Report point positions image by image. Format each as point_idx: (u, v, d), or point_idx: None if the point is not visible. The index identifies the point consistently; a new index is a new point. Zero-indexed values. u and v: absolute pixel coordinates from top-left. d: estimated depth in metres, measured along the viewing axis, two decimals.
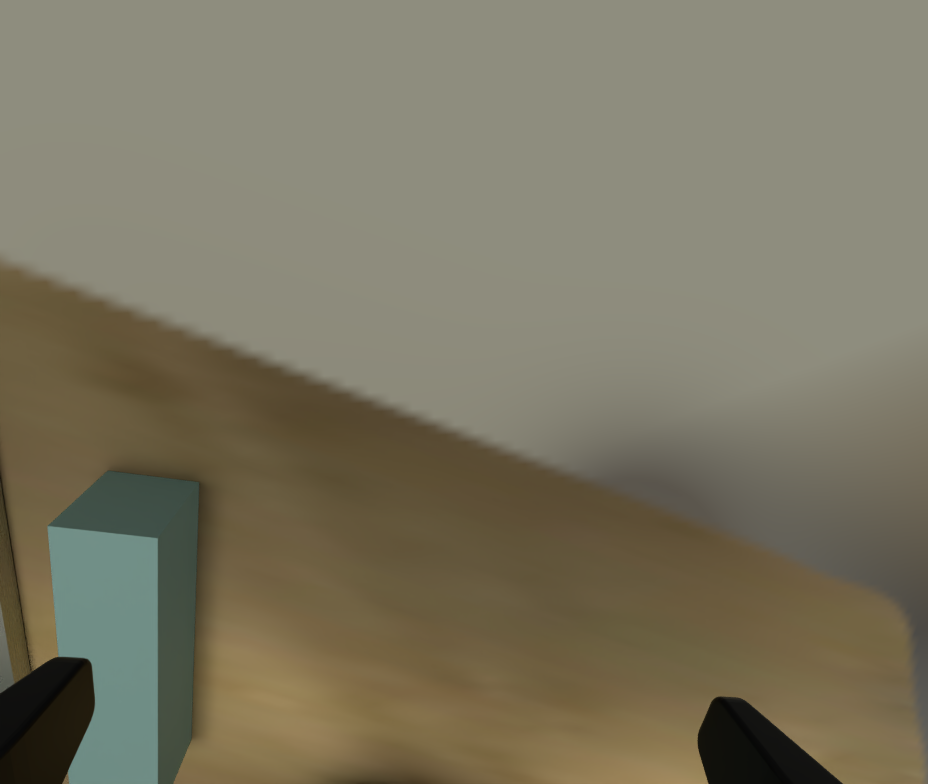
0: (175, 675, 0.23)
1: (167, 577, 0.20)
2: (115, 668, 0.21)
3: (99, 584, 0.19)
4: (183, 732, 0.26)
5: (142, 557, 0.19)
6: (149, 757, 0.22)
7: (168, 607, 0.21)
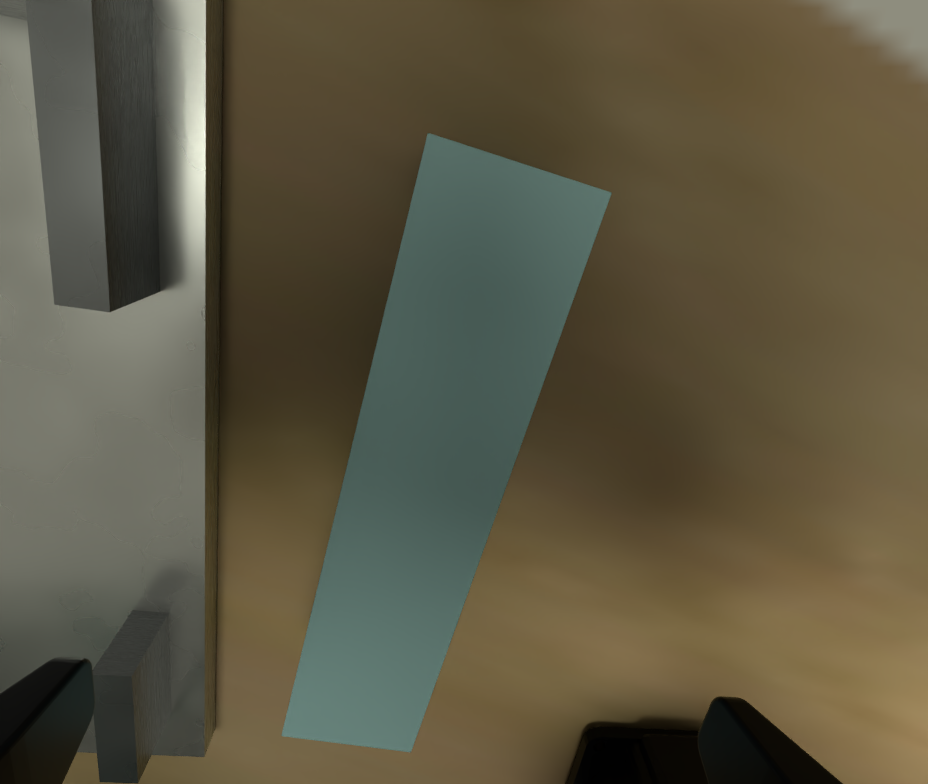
0: None
1: None
2: (443, 465, 0.12)
3: (475, 283, 0.10)
4: None
5: (569, 233, 0.10)
6: (437, 640, 0.13)
7: None
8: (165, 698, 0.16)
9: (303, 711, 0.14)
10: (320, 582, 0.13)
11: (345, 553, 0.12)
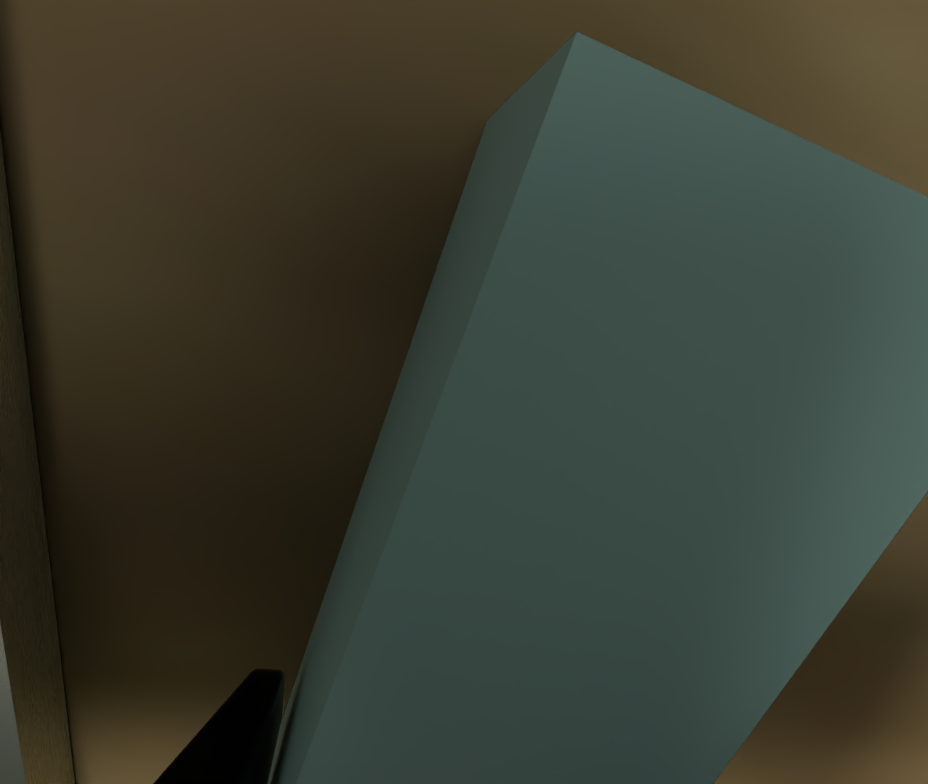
0: None
1: None
2: None
3: (644, 497, 0.04)
4: None
5: None
6: None
7: None
8: None
9: None
10: None
11: None
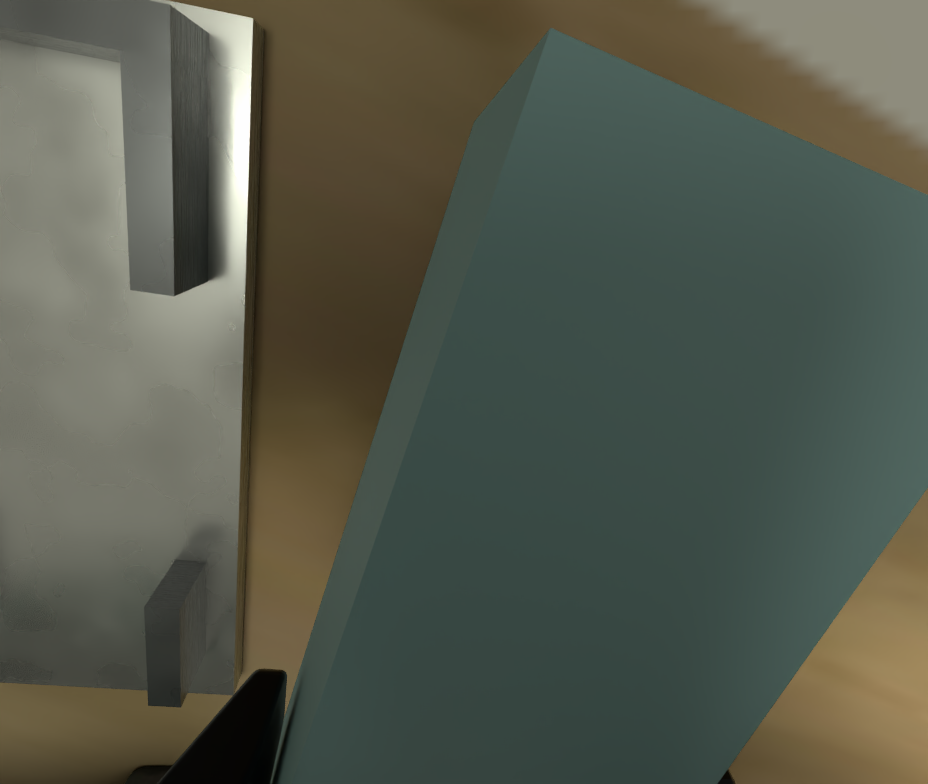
0: None
1: None
2: None
3: (634, 500, 0.04)
4: None
5: None
6: None
7: None
8: (202, 638, 0.19)
9: None
10: None
11: None
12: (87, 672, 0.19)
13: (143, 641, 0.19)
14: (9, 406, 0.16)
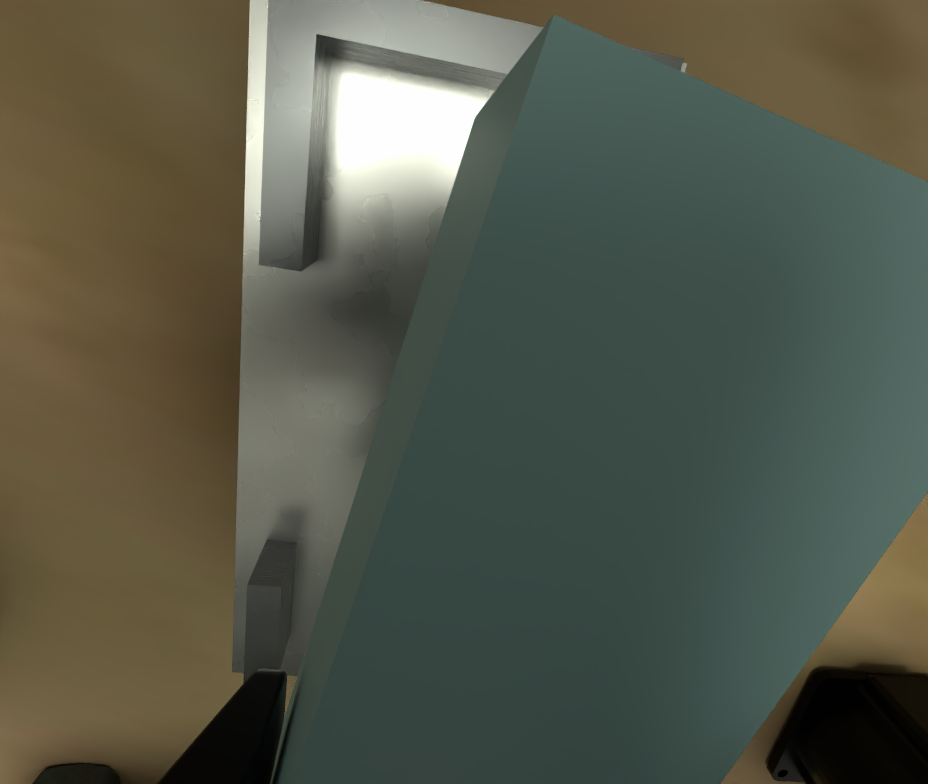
0: None
1: None
2: None
3: (638, 495, 0.04)
4: None
5: None
6: None
7: None
8: None
9: None
10: None
11: None
12: None
13: None
14: None
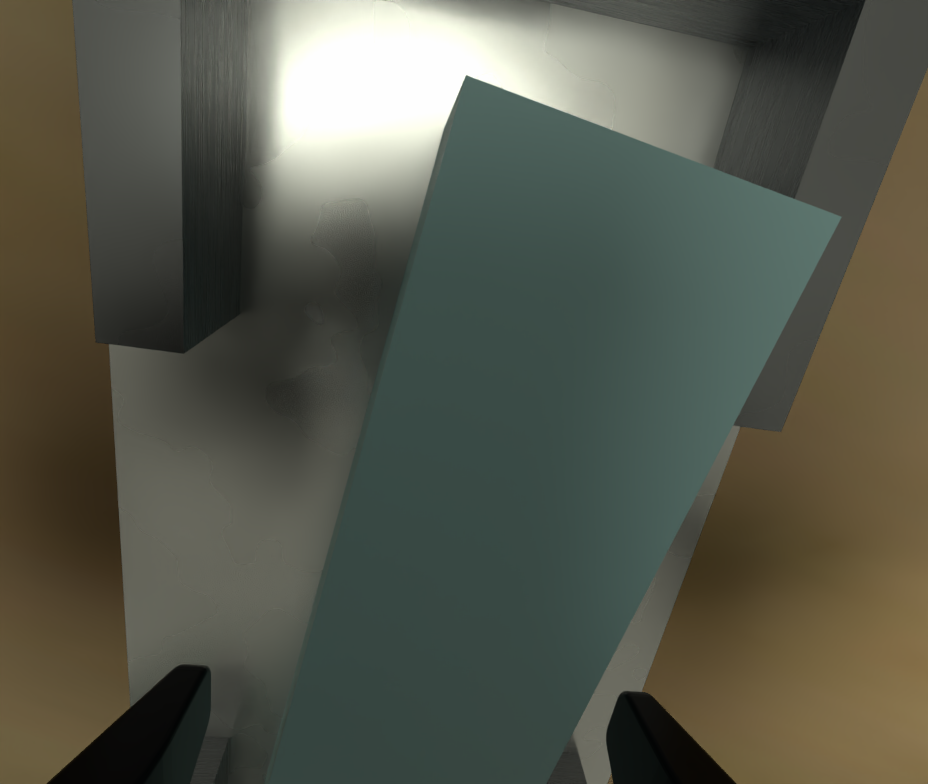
0: None
1: None
2: (467, 697, 0.06)
3: (547, 392, 0.05)
4: None
5: (745, 298, 0.05)
6: None
7: None
8: None
9: None
10: None
11: None
12: None
13: None
14: None
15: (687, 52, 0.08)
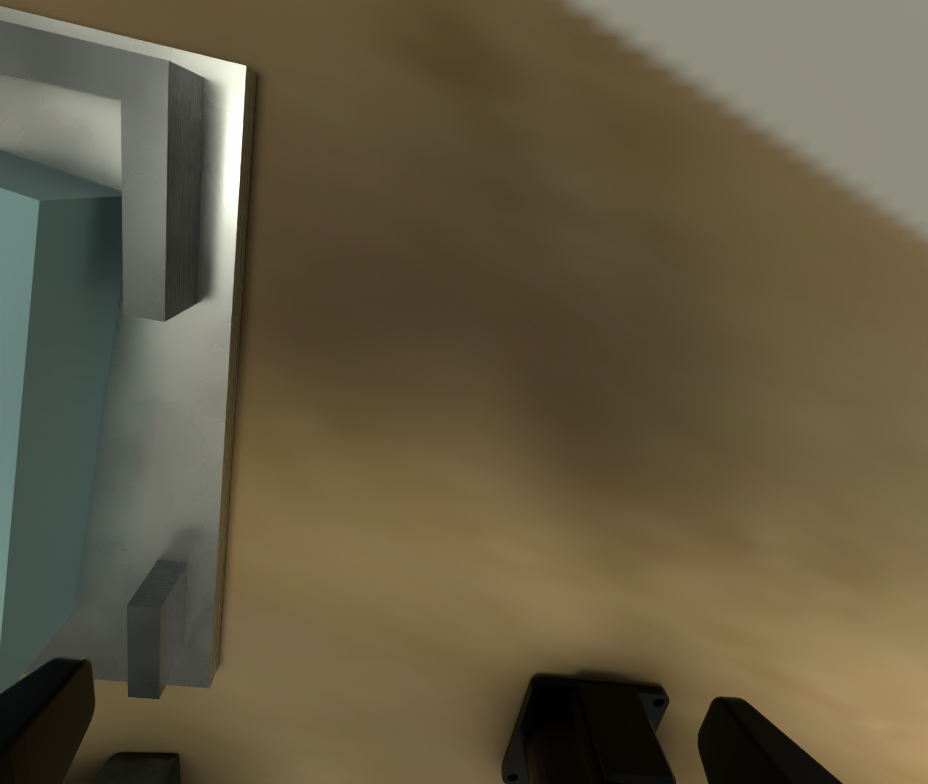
0: (51, 491, 0.15)
1: (52, 300, 0.13)
2: None
3: None
4: (57, 595, 0.18)
5: (9, 235, 0.11)
6: None
7: (49, 358, 0.13)
8: (181, 634, 0.20)
9: None
10: None
11: None
12: None
13: (124, 635, 0.20)
14: None
15: None
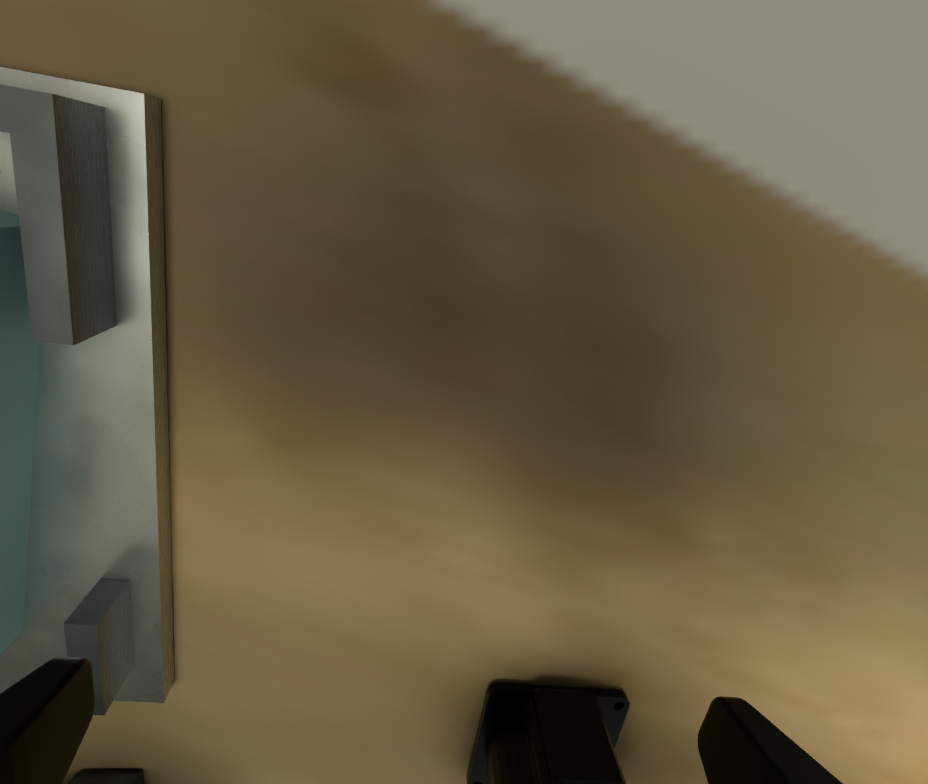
0: None
1: None
2: None
3: None
4: None
5: None
6: None
7: None
8: (128, 650, 0.20)
9: None
10: None
11: None
12: None
13: None
14: None
15: None
